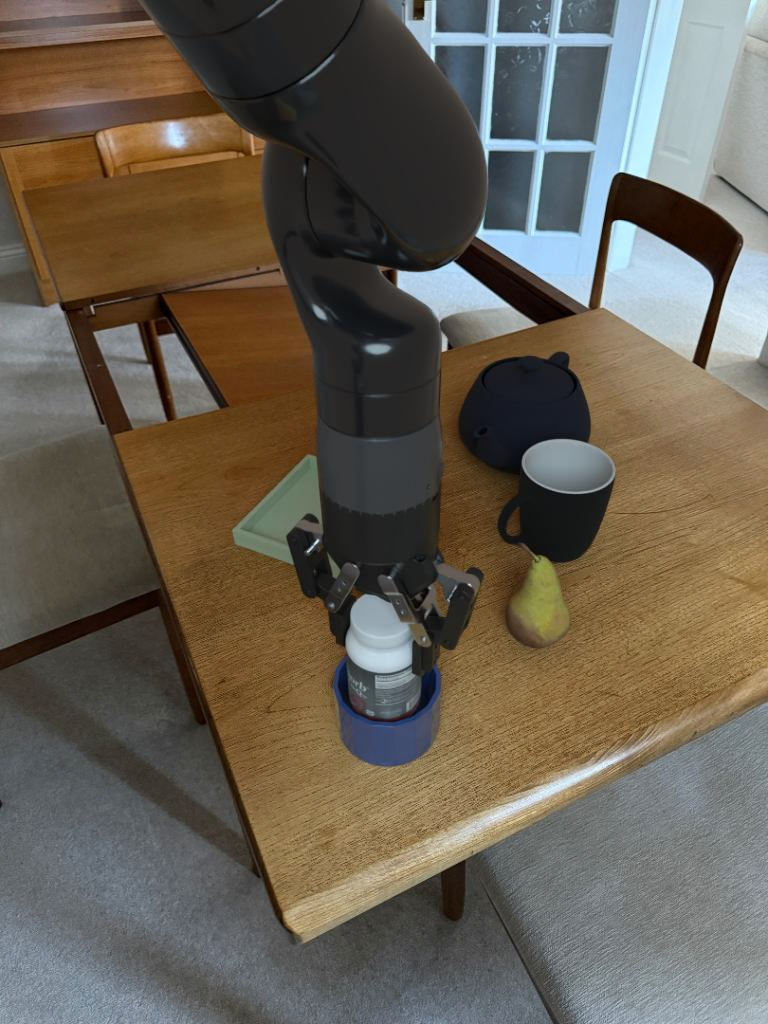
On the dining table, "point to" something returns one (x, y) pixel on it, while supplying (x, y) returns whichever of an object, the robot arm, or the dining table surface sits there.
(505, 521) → the mug
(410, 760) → the pen cup
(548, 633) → the fruit
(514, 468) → the teapot
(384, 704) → the pill bottle
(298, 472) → the tray
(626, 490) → the dining table surface
